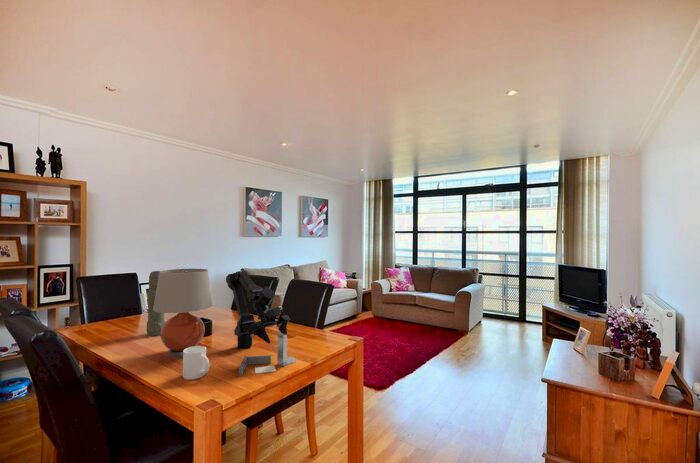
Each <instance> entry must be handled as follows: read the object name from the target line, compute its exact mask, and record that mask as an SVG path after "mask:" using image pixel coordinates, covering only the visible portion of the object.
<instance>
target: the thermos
mask: <svg viewBox="0 0 700 463" xmlns="http://www.w3.org/2000/svg"><path fill="white" fill-rule="evenodd" d="M159 271H160V270H154V271H151V272H150V273H149V276H148V291H147V301H146V303H147V307H148V308H147V321H146V337H149V338H151V337H154V338H155V337H156V338H157V337H161V336H160V334H161V329H162V327H163V325H164V324H165V322H166V320H165V313H160V312H155V311H153V308H154V301H155V295H156V289H157V283H158V276H159Z"/></svg>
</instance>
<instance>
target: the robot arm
mask: <svg viewBox="0 0 700 463" xmlns="http://www.w3.org/2000/svg"><path fill="white" fill-rule="evenodd" d="M251 278H252V277H250V276H249V274H248V272H247V270H246V271H245V270H237V271H236V272H234V273H233V272H232V273H229V274H228V275H227V276H225V281H226V284H227V287H228V288H229V289H230V291H232V293H233V298H234V302H235V306H236V310H237V315H238V319H237V321H236V326H235V328H234V330H233V331H234V332H233V334H234V335H235V336H236V337H237V346H236V349H250V348H251V347H252V346H253V340H254V339H253V336H255V337H258V338H259V339H261V340H262V341H264V342H265V343H267V344H268V345H269V344H271V340H270V337H269V335H268V333H267V332H266V328H268V327H269V328H270V327H274V326H276V327H277V328H278V331H279V332H280V333H283V334H286V335H287V339H288V330H287V325H288V323H289V322H290V320H291V318H290V316H289V315H288V314H287V315H286V314H285V315H282V313H283V312H284V308H283V306H282V305H278V306H276V307H275V308H270V306H269V305H270V304H271V302H272V301H273V299H274V298H275V297H276V292H275V290H273V289H271V288H269V287H268V286H263V287H261V286H260V285H257V284H255V282H254V281H253V279H251ZM243 288H244V289H245V291H246V297H247V299H248V301H249V302H254V303H253V305H252V311H254V310H255V311H256V314H257V316H258V317H257V320H258V321H255V316H254V315H253V314H251V313H249V310H248V306H247V301H246V298H245V294H244V291H243ZM281 315H282V316H281ZM279 316H280V317H279ZM278 317H279V318H278Z"/></svg>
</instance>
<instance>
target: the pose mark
mask: <svg viewBox="0 0 700 463" xmlns="http://www.w3.org/2000/svg"><path fill="white" fill-rule="evenodd" d="M276 369H277V368H276V367H275V365H267V366H258V367H254V372H255V374H256V375H257V374H265V373H271V372H273V373H274V372H277V370H276Z"/></svg>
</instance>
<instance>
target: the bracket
mask: <svg viewBox="0 0 700 463" xmlns="http://www.w3.org/2000/svg"><path fill="white" fill-rule="evenodd" d="M287 336H288V334H287V335H286V334H283V333H281V332H280V333H277V345H276V346H277V350H276V351H277V352H276V354H277V359H276V362H277V363H276V364H277V365H278V366H281V367H286V366H288V365H292V364H293V363H296V362H297V359H296V357H293V356H290V355H289V356H288V338H287Z"/></svg>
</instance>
